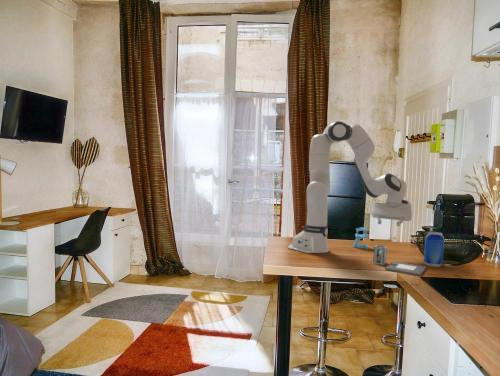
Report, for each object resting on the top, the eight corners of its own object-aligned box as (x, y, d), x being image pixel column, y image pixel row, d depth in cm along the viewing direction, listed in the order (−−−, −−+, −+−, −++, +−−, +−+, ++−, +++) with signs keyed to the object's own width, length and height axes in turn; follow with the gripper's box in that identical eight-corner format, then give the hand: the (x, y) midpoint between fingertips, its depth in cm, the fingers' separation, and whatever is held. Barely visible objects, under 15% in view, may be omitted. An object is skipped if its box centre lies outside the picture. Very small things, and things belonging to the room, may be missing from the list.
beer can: (424, 265, 191) (426, 233, 190) (423, 261, 199) (425, 230, 198) (443, 268, 188) (445, 235, 187) (441, 263, 196) (443, 232, 195)
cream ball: (377, 251, 192) (383, 248, 192) (377, 252, 195) (382, 250, 195) (379, 256, 191) (385, 254, 191) (379, 258, 194) (385, 256, 193)
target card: (385, 269, 181) (385, 267, 181) (393, 263, 194) (393, 260, 194) (419, 276, 173) (420, 273, 173) (426, 268, 186) (426, 266, 186)
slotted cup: (373, 263, 192) (374, 246, 192) (375, 261, 197) (376, 244, 196) (383, 265, 190) (384, 248, 189) (386, 263, 194) (387, 246, 193)
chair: (352, 245, 233) (353, 225, 232) (367, 246, 231) (368, 226, 231) (353, 248, 226) (354, 227, 225) (368, 249, 224) (369, 228, 223)
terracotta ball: (375, 263, 193) (374, 257, 193) (377, 261, 195) (375, 255, 195) (381, 262, 191) (379, 256, 191) (383, 260, 193) (381, 254, 193)
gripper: (373, 199, 214) (367, 218, 206) (413, 202, 203) (408, 222, 195) (375, 206, 218) (369, 225, 210) (414, 209, 207) (409, 230, 199)
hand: (388, 224), depth 203 cm, fingers open, 8 cm apart
